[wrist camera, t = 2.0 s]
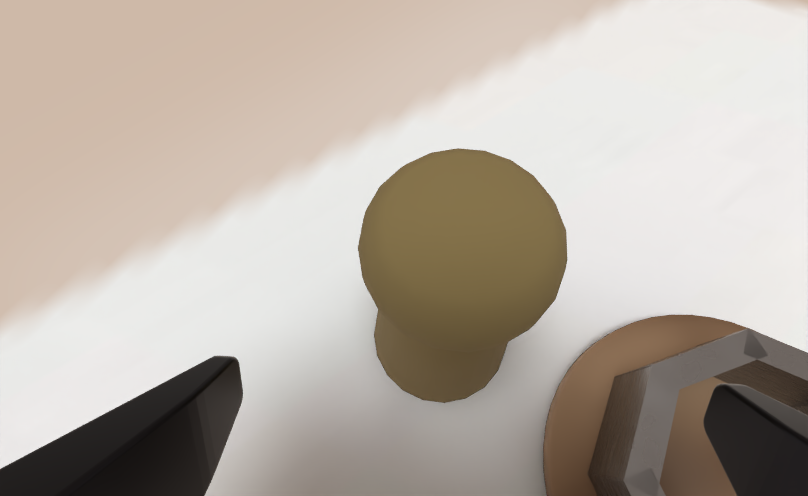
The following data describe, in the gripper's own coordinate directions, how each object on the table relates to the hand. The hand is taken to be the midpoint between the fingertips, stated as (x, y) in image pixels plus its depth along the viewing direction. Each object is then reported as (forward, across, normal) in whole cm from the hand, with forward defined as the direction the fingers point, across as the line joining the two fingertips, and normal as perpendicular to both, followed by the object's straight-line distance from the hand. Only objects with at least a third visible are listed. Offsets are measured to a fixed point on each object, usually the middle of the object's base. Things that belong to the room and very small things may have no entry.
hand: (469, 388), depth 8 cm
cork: (+10, 0, +5) cm, 11 cm away
